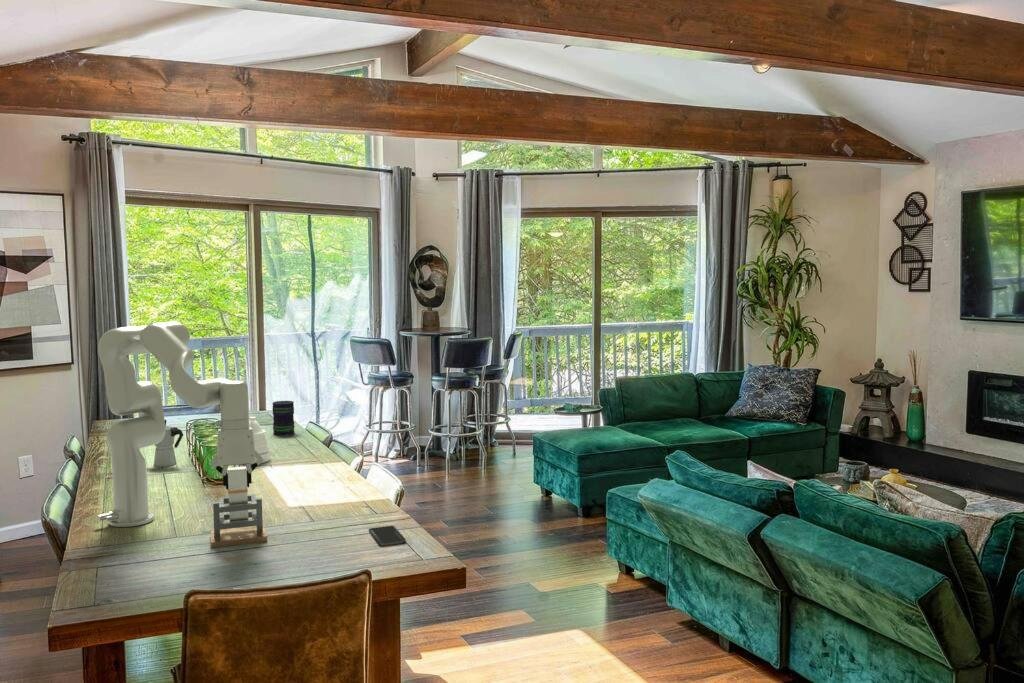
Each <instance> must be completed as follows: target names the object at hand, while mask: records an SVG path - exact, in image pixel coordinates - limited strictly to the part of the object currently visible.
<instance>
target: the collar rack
mask: <svg viewBox="0 0 1024 683" xmlns="http://www.w3.org/2000/svg"><path fill="white" fill-rule="evenodd" d="M247 497H248V503H246V504H235V505H229V496H225V497H218V501H214V502H212V507H213V510H212V511H213V530H210V548H220V547H229V546H236V545H237V546H238V545H248V544H256V543H257V544H258V543H265V542H268V534H267V530H266V525H265V524H264V523H263V498H262V497H256V494H247ZM226 504H227V505H226ZM243 510H248V520H242V521H232V522H230V518H229V512H233V511H243ZM249 518H251V519H249Z"/></svg>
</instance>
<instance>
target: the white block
mask: <svg viewBox="0 0 1024 683" xmlns="http://www.w3.org/2000/svg"><path fill="white" fill-rule="evenodd" d="M227 474H228V489H227V494H228V497H229V504H228V505H235V504H246V503H249V502H248V497H247V495H248V493H249V492H248V491H249V490H248V487H247V468H246V465H244V466H237V467H236V466H234V467H228V469H227ZM248 511H249V510H243V511H233V512H228V513H229V518H230V520H229V522H232V521H242V520H249V518H248Z"/></svg>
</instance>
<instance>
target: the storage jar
mask: <svg viewBox="0 0 1024 683" xmlns="http://www.w3.org/2000/svg"><path fill="white" fill-rule="evenodd" d="M294 402H295V401H292V400H277V401H273V402H272V415H273V416H272V417H273V422H272V429H273V434H272V435H274V436H282V437H283V436H291V435H294V434H295V426H296V425H295V421H294V413H295V406H294Z"/></svg>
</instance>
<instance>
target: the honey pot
mask: <svg viewBox="0 0 1024 683" xmlns="http://www.w3.org/2000/svg"><path fill="white" fill-rule="evenodd" d="M249 427H251V428H252V430H253V435H254V443H255V450H256V451H257V452H258V453H259V455H260V456H261V457H262V458H263V462H262V463H267V462H268V461H270V460H271V451H270V449H271V447H270V444H269V442H268V438H267V437H266V433H267V431H266V430H265V429H263V428H262V426H261V425H260V424H259V422H258V421H257V416H249ZM256 460H257V458H256V457H255V461H256ZM255 461H254V462H255ZM254 462H253V463H254ZM253 463H251V464H250V465H252V464H253ZM262 463H261V464H262Z"/></svg>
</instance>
